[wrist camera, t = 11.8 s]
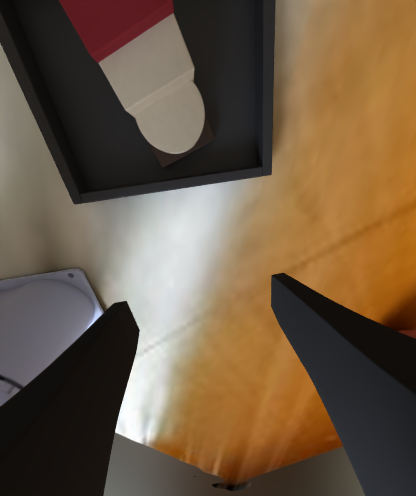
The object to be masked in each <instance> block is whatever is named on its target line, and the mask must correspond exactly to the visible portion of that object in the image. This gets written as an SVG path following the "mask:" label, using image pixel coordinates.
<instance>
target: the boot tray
mask: <svg viewBox="0 0 416 496" xmlns="http://www.w3.org/2000/svg"><path fill="white" fill-rule="evenodd" d="M173 8H174V16H175V18H176V21H177V23H178V26H179V29H180V31H181V34H182V36H183V39H184V41H185V44H186V47H187V49H188V52H189V54H190V57H191V60H192V62H193V65H194V84H195V85H196V87H197V88H198V90H199V92H200V94H201V97H202V100H203V103H204V110H205V113H206V115H207V118H208V120H209V123H210V125H211V128H212V130H213V132H214V135H215V139H214V140H213V141H211V142H209V143H208V144H206V145H204V146H202V147H200V148H199V149H197V150H195V151H193V152H192V153H190V154H188V155H186V156H184V157H183V158H181V159H179V160H177V161H175V162H174V163H172V164H170V165H168V166H167V167H165V168H162V166H161V165H160V163H159V161H158V159H157V157H156V156H155V154H154V152H153V150H152V148H151V147H150V145H149V143H148V141H147V140H146V138H145V137H144V136H143V134H142V133H141V131H140V129H139V127H138V124H137V122H136V120H135V118H134V117H133V116H132V115H131V114H130V113H128V112H127V111H126V110H125V109H124V107H123V105H122V104H121V102H120V100H119V98H118V97H117V95H116V93H115V91H114V89H113V88H112V86H111V84H110V82H109V81H108V79H107V77H106V75H105V74H104V72H103V70H102V68H101V67H100V65H99V63H97V62H96V61H95V60H94V59H93V58H92V56H91V55H90V54H89V52H88V50H87V48H86V47H85V45H84V43H83V41H82V40H81V38H80V36H79V35H78V33H77V31H76V29H75V28H74V26H73V24H72V22H71V21H70V19H69V17H68V15H67V14H66V12H65V10H64V8H63V7H62V5H61V3H60V1H59V0H0V43H1V45H2V47H3V50H4V52H5V54H6V56H7V58H8V61H9V63H10V65H11V67H12V69H13V71H14V74H15V76H16V78H17V80H18V82H19V85H20V87H21V89H22V91H23V93H24V96H25V98H26V100H27V102H28V104H29V107H30V109H31V111H32V113H33V115H34V118H35V120H36V122H37V124H38V126H39V129H40V131H41V133H42V135H43V137H44V140H45V142H46V144H47V146H48V148H49V151H50V153H51V155H52V157H53V159H54V162H55V164H56V166H57V168H58V170H59V172H60V175H61V177H62V179H63V181H64V183H65V186H66V188H67V190H68V192H69V194H70V197H71V199H72V201H73V203H74V204H82V203H88V202H95V201H102V200H108V199H115V198H122V197H128V196H135V195H141V194H148V193H155V192H161V191H168V190H175V189H181V188H188V187H194V186H201V185H208V184H214V183H221V182H228V181H234V180H241V179H248V178H254V177H261V176H268V175H271V174H272V132H273V85H274V39H275V0H173Z"/></svg>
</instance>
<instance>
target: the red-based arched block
mask: <svg viewBox="0 0 416 496" xmlns="http://www.w3.org/2000/svg"><path fill="white" fill-rule="evenodd" d="M59 1H60V3H61V5H62V7H63V8H64V10H65V12H66V14H67V15H68V17H69V19H70V21H71V22H72V24H73V26H74V28H75V29H76V31H77V33H78V35H79V36H80V38H81V40H82V41H83V43H84V45H85V47H86V48H87V50H88V52H89V54H90V55H91V56H92V58H93V59H94V60H95V61H96V62H97V63H99V65H100V67H101V68H102V70H103V72H104V74H105V75H106V77H107V79H108V81H109V82H110V84H111V86H112V88H113V89H114V91H115V93H116V95H117V97H118V98H119V100H120V102H121V104H122V105H123V107H124V109H125V110H126V111H127V112H128V113H130V114H131V115H132V116H133V117H134V118H135V120H136V122H137V124H138V127H139V129H140V131H141V133H142V134H143V136H144V137H145V138H146V140H147V141H148V143H149V145H150V147H151V148H152V150H153V152H154V154H155V156H156V157H157V159H158V161H159V163H160V165H161V166H162V168H165V167H167V166H168V165H170V164H172V163H174V162H175V161H177V160H179V159H181V158H183V157H184V156H186V155H188V154H190V153H192V152H193V151H195V150H197V149H199V148H200V147H202V146H204V145H206V144H208V143H209V142H211V141H213V140H214V139H215V135H214V132H213V130H212V128H211V125H210V123H209V120H208V118H207V115H206V113H205V110H204V103H203V100H202V97H201V94H200V92H199V90H198V88H197V87H196V85H195V84H194V65H193V62H192V60H191V57H190V54H189V52H188V49H187V47H186V44H185V41H184V39H183V36H182V34H181V31H180V29H179V26H178V23H177V21H176V18H175V16H174V8H173V0H59Z"/></svg>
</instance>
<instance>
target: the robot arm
mask: <svg viewBox="0 0 416 496" xmlns="http://www.w3.org/2000/svg"><path fill="white" fill-rule="evenodd" d="M70 273H72V274H73V275H71V274H70ZM271 307H272V309H273V312H274V314H275V316H276V318H277V321H278V323H279V325H280V327H281V328H282V330H283V332H284V334H285V335H286V337H287V339H288V340H289V342H290V344H291V345H292V347H293V349H294V350H295V352H296V354H297V356H298V357H299V359H300V361H301V362H302V364H303V366H304V367H305V369H306V371H307V372H308V374H309V376H310V378H311V380H312V381H313V383H314V385H315V387H316V389H317V391H318V394H319V396H320V398H321V400H322V402H323V404H324V406H325V408H326V410H327V412H328V414H329V416H330V418H331V421H332V423H333V425H334V427H335V429H336V431H337V433H338V435H339V438H340V440H341V442H342V444H343V446H344V449H345V451H346V453H347V455H348V457H349V460H350V462H351V464H352V466H353V469H354V471H355V473H356V475H357V478H358V480H359V482H360V484H361V486H362V489H363V491H364V494H365V496H416V338H413V337H410V336H408V335H405V334H403V333H401V332H398V331H396V330H393V329H391V328H389V327H386V326H384V325H382V324H380V323H377V322H375V321H373V320H371V319H368V318H366V317H364V316H362V315H360V314H358V313H356V312H354V311H352V310H350V309H348V308H346V307H344V306H342V305H340V304H338V303H336V302H334V301H332V300H330V299H328V298H327V297H325V296H323V295H321V294H319V293H318V292H316V291H314V290H312V289H311V288H309V287H307V286H306V285H304V284H302V283H300V282H299V281H297V280H295V279H294V278H292V277H290V276H288V275H287V274H285V273H280V274H274V275H272V279H271ZM139 331H140V330H139V328H138V326H137V323H136V321H135V319H134V317H133V314H132V312H131V310H130V308H129V305H128V303H127V301H123V302H118V303H114V304H113V305H111V306H110V307H109V308H108V309H107V310H106V311H105V312H104V311H103V309H102V307H101V305H100V304H99V302H98V300H97V298H96V296H95V294H94V292H93V290H92V288H91V286H90V284H89V282H88V280H87V278H86V277H85V275H84V273H83V271H82V270H81V269H78V268H74V269H68V270H62V271H55V272H49V273H43V274H37V275H31V276H24V277H18V278H12V279H6V280H0V496H103V494H104V488H105V483H106V477H107V471H108V465H109V460H110V454H111V449H112V444H113V439H114V434H115V429H116V424H117V420H118V416H119V412H120V408H121V404H122V401H123V397H124V394H125V390H126V387H127V383H128V380H129V376H130V373H131V369H132V366H133V362H134V358H135V355H136V350H137V344H138V338H139Z"/></svg>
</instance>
